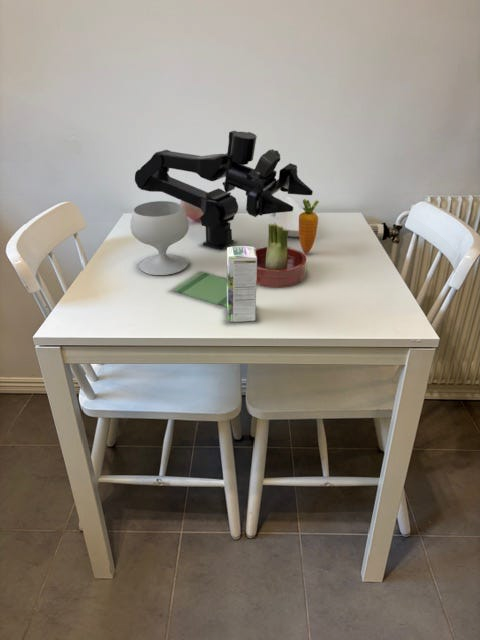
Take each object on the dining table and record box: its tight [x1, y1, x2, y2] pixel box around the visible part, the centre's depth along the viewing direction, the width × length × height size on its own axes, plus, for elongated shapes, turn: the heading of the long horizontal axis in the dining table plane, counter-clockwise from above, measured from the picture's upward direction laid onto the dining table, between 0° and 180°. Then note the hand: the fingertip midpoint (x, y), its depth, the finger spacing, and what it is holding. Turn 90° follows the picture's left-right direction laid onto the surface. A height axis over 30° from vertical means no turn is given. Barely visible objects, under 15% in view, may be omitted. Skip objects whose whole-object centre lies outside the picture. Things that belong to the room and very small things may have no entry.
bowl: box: [255, 246, 307, 288], centre depth 117 cm, size 15×15×4 cm
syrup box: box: [226, 245, 257, 323], centre depth 98 cm, size 6×6×14 cm
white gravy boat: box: [273, 196, 305, 238], centre depth 144 cm, size 24×12×7 cm, turn 10°
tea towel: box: [172, 271, 227, 308], centre depth 112 cm, size 15×11×1 cm
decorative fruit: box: [180, 200, 204, 221], centre depth 148 cm, size 9×8×10 cm
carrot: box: [298, 198, 320, 255], centre depth 124 cm, size 5×5×15 cm
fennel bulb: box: [265, 223, 289, 270], centre depth 115 cm, size 6×5×12 cm
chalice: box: [130, 200, 190, 276], centre depth 119 cm, size 14×14×15 cm
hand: (302, 201), depth 114 cm, fingers open, 9 cm apart
